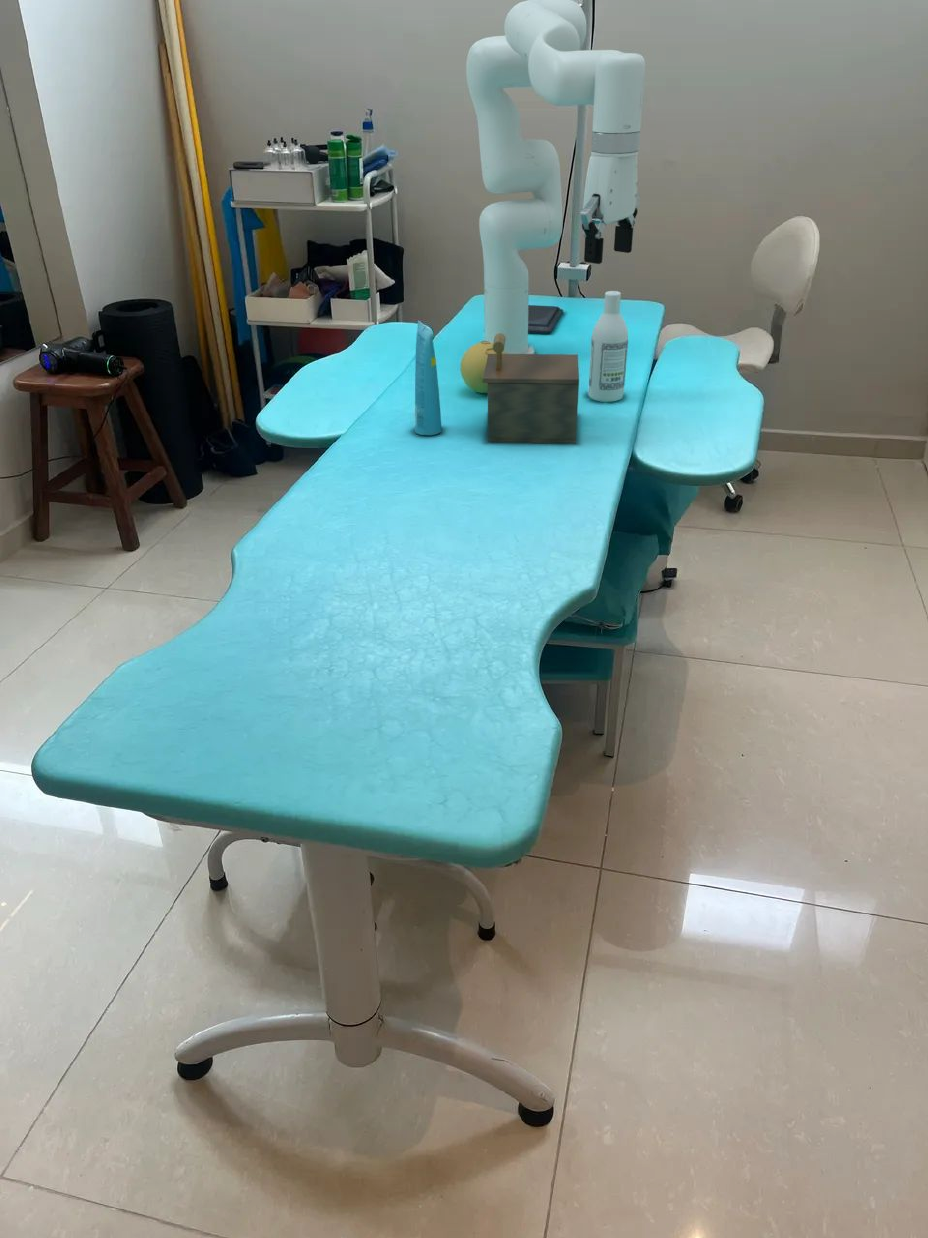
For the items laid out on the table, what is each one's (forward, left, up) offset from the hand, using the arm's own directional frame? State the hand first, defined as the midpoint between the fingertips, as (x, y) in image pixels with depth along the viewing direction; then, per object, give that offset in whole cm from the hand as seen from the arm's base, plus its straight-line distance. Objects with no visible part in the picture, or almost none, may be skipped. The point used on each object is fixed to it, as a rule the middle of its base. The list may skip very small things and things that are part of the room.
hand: (608, 256), depth 155 cm
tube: (+7, -31, -29) cm, 43 cm away
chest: (+5, -12, -29) cm, 32 cm away
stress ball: (-14, -22, -29) cm, 39 cm away
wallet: (-64, -15, -29) cm, 72 cm away
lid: (+5, -12, -18) cm, 22 cm away
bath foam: (-12, +2, -29) cm, 32 cm away
